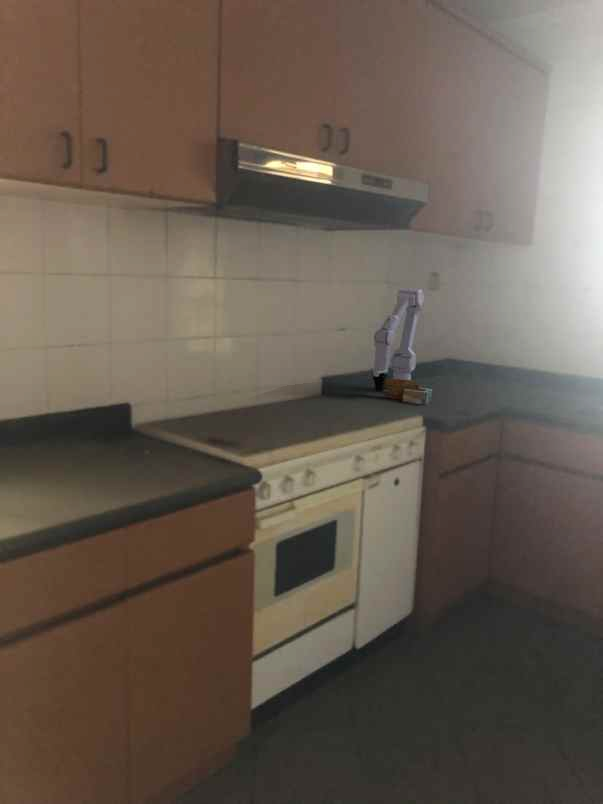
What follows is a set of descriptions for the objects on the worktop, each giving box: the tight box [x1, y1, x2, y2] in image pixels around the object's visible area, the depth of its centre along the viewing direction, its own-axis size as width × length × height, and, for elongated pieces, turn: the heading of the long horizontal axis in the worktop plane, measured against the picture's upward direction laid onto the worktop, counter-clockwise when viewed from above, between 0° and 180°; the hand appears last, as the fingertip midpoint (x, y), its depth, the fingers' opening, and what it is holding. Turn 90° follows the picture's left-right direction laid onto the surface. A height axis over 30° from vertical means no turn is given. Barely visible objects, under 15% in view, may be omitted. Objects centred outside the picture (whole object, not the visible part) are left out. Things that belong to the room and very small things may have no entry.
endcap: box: [402, 386, 433, 406], centre depth 270 cm, size 10×10×5 cm
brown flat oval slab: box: [382, 377, 420, 401], centre depth 272 cm, size 15×3×8 cm, turn 73°
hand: (378, 391), depth 275 cm, fingers closed, pressing on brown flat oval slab
